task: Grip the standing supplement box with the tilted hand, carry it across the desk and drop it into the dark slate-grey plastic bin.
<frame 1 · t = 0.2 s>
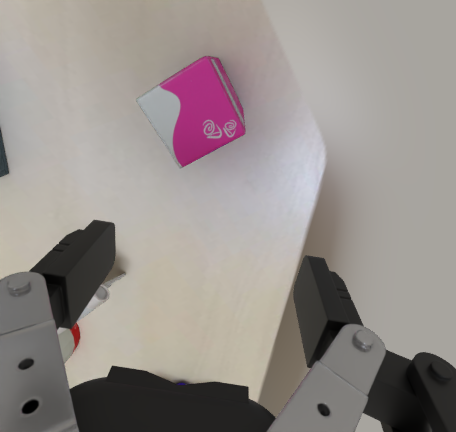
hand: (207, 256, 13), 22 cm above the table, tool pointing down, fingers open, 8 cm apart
tablet stand: (94, 262, 41), on the table
kitchen timer: (36, 325, 47), on the table
supplement box: (207, 99, 31), on the table
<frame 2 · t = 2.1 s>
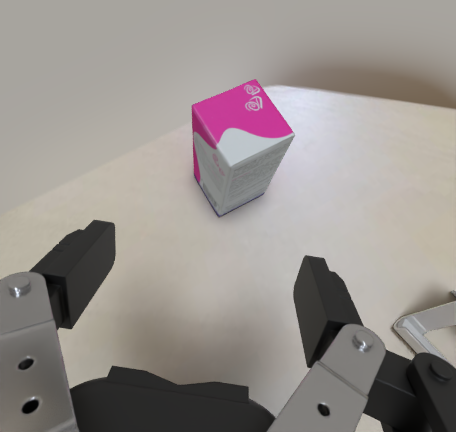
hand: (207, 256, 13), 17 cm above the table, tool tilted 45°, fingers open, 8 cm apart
tablet stand: (445, 335, 30), on the table
supplement box: (228, 184, 32), on the table
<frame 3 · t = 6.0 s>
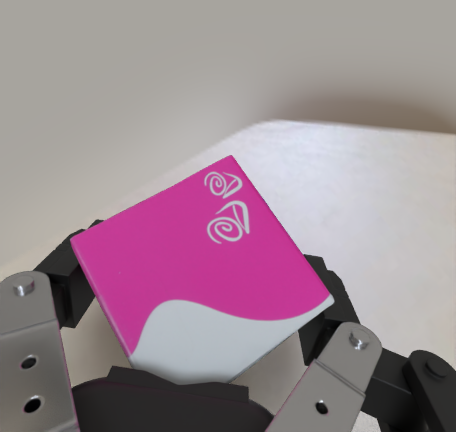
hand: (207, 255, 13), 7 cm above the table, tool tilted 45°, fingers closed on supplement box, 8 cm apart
supplement box: (202, 295, 19), on the table, touching gripper
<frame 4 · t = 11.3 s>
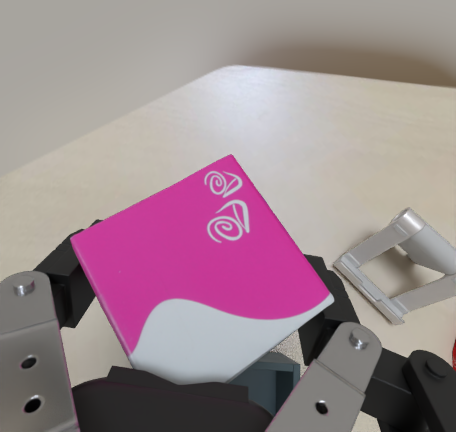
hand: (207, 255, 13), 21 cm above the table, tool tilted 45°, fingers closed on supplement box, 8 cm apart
tablet stand: (379, 270, 34), on the table
bin: (212, 423, 29), on the table
supplement box: (202, 294, 19), point 13 cm above the table, touching gripper
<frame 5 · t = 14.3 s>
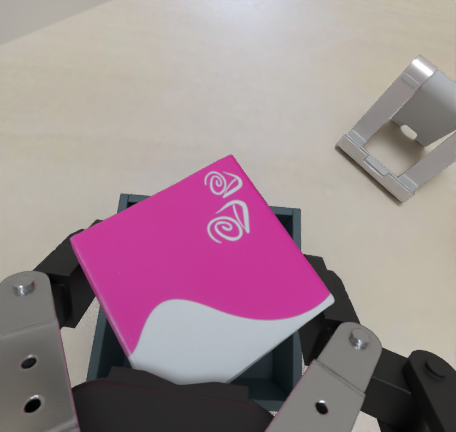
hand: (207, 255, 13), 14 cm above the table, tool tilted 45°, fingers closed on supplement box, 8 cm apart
tablet stand: (386, 154, 32), on the table
bin: (204, 297, 26), on the table
supplement box: (202, 294, 19), point 7 cm above the table, touching gripper
when the fingers open (8 cm above the table, at t = 16.9 s): supplement box stays where it is, resting on bin.
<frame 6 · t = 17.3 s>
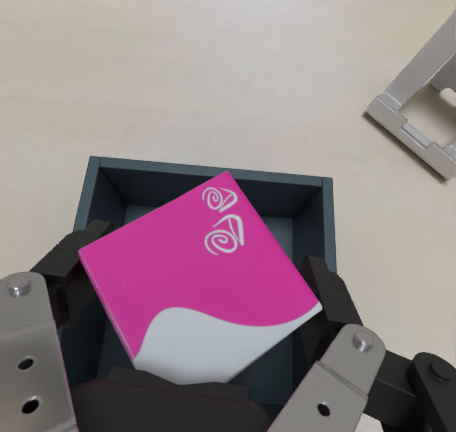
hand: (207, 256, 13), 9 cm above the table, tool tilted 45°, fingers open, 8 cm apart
tablet stand: (424, 123, 26), on the table
bin: (203, 297, 20), on the table
supplement box: (202, 298, 20), resting on bin
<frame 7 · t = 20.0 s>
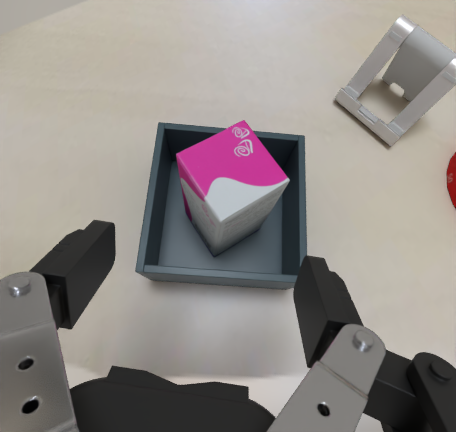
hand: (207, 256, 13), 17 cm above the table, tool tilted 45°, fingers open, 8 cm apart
tablet stand: (377, 108, 37), on the table
bin: (223, 219, 31), on the table
supplement box: (222, 219, 31), resting on bin
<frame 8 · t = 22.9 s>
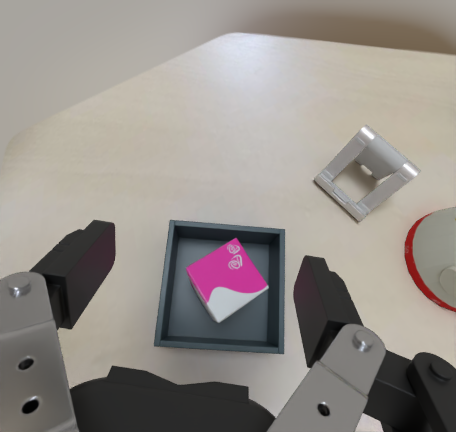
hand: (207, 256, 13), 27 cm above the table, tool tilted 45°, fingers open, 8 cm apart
tablet stand: (350, 185, 44), on the table
kitchen timer: (451, 260, 42), on the table
bin: (221, 287, 38), on the table
supplement box: (220, 288, 38), resting on bin
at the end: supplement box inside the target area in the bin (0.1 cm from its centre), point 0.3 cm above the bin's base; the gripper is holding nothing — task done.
